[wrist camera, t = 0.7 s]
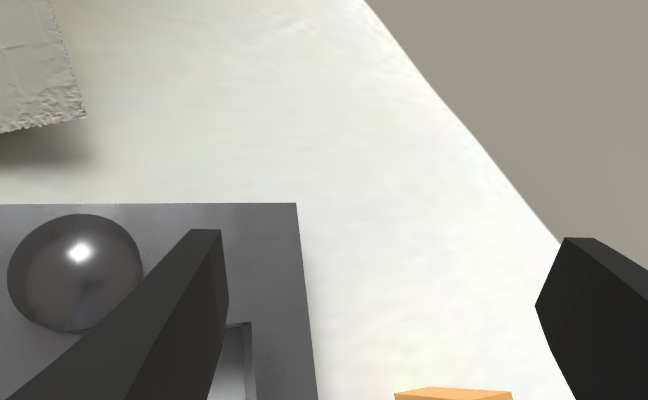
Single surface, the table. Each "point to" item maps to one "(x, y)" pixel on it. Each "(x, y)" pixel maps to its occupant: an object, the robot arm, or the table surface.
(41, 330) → the grey slotted base box
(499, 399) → the tall orange box
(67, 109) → the grey angled piece
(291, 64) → the table surface
